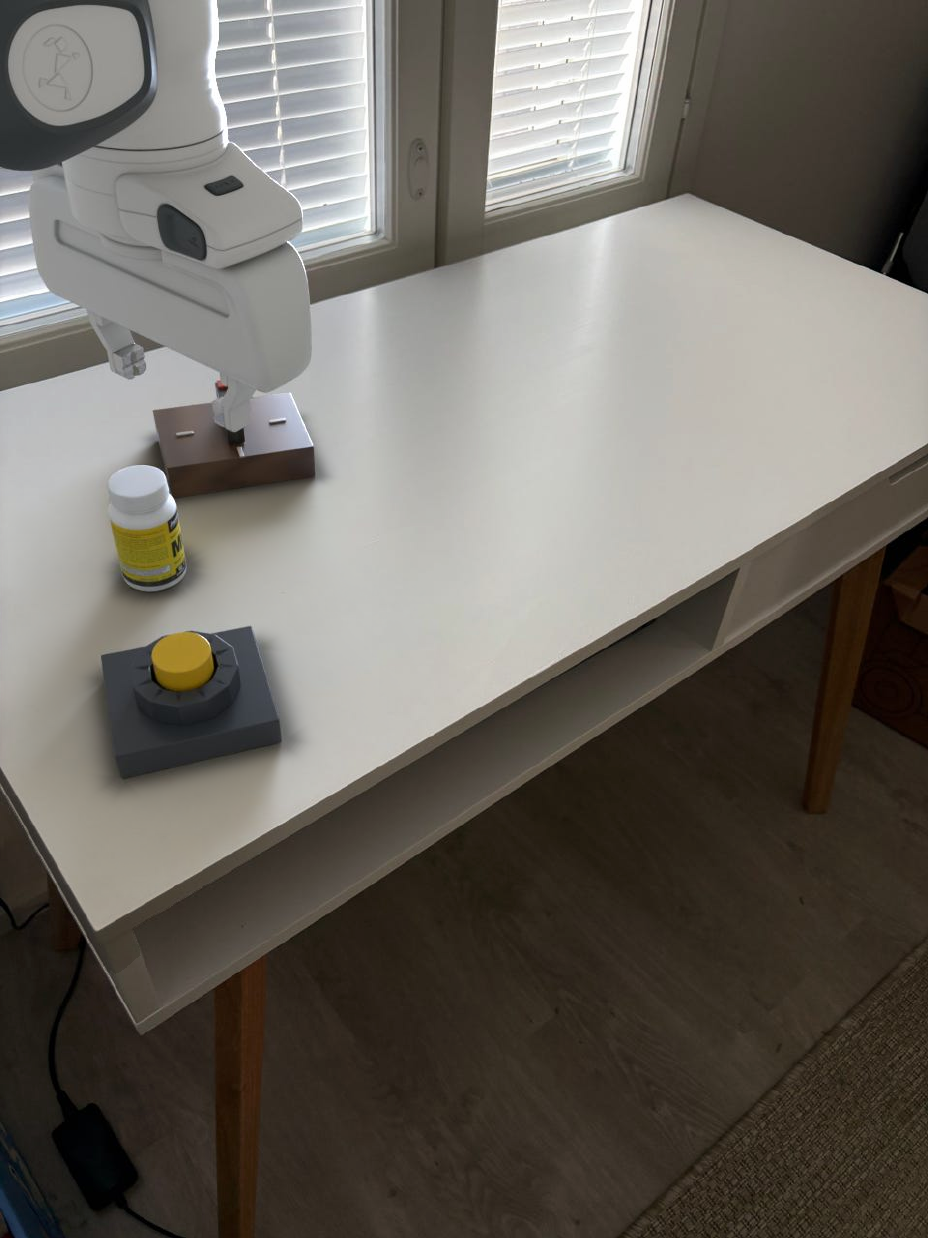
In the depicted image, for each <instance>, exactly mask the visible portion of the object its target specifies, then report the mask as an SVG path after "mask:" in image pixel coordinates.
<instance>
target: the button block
mask: <svg viewBox="0 0 928 1238" xmlns="http://www.w3.org/2000/svg"><path fill="white" fill-rule="evenodd" d="M185 632H190V633H195V634H198V635H201V636H202V637H204V638H205V639H206V640H207V641H208V642H209V644H210V647H211V653H212V659H213V665H214V671H213V674H212V676H211V678H210V679H209V680H208V681H207V682H206V683H205V684H204V685H202V686H201V687H199V688H197V689H192V690H188V691H183V692H177V691H171V690H168V689H166V688H164V687H163V686H161V685H160V684H159V682H158V681H157V679H156V676H155V671H154V667H153V662H152V657H151V655H152V650H153V648H154V647H155V645H156V644H157V643H158V642H159V641H160V640H161V639H163V638H165V637H166V636H169V635H171V634H172V633H170V634H164V635H161V636H160V637H159V638H157V639H155V640H154V641H152V642H150V643H148V644H147V645H145V646H144V645H143V646H139V647H134V648H129V649H123V650H119V651H115V652H109V653H104V654H100V662H101V669H102V676H103V683H104V690H105V697H106V704H107V712H108V719H109V726H110V733H111V734H110V735H111V740H112V747H113V754H114V759H115V764H116V766H117V770H118V774H119V776H120V779H126V778H130V777H131V778H132V777H135V776H140V775H144V774H148V773H153V772H157V771H161V770H166V769H170V768H174V767H179V766H184V765H187V764H192V763H197V762H201V761H205V760H210V759H214V758H218V757H222V756H223V757H224V756H226V755H227V756H228V755H231V754H235V753H239V752H244V751H245V752H246V751H249V750H252V749H258V748H262V747H266V746H270V745H275V744H279V743H282V741H283V739H282V728H281V719H280V716H279V712H278V709H277V706H276V702H275V700H274V695H273V692H272V689H271V686H270V682H269V679H268V675H267V672H266V668H265V665H264V662H263V658H262V655H261V652H260V649H259V645H258V641H257V638H256V635H255V632H254V629H253V626H252V625H248V626H243V627H242V626H241V627H237V628H232V629H227V630H223V631H216V632H212V633H208V632H202V631H196V630H186V631H185Z"/></svg>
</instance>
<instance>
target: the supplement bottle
mask: <svg viewBox="0 0 928 1238" xmlns="http://www.w3.org/2000/svg"><path fill="white" fill-rule="evenodd" d="M165 474H166V473H165V472H163V471H162V470H161V469H160V468H157V467H155V466H153V465H152V466H151V465H144V464H140V465H139V464H137V465H131V466H126V467H123V468H121V469H119V470H117V471H115V472H114V473H113V474H112V475H111V476H110V477H109V479H108V481H107V490H108V495H109V500H110V503H109V504H108V508H107V513H108V518H109V519H108V520H109V523H110V528H111V532H112V536H113V541H114V545H115V549H116V555H117V559H118V563H119V567H120V572H121V576H122V578H123V581H124V582H125V583H126V584H127V585H128V587H130V588H132V589H134V590H137V591H141V592H149V593H151V592H159V591H163V590H167V589H169V588H171V587H174V586H175V585H177V584H178V583H179V582H180V581H181V580H182V579H183V578H184V576H185V575H186V573H187V559H186V553H185V549H184V543H183V537H182V530H181V524H180V519H179V514H178V506H177V503H176V500H175V498H173V497H172V495H171V493H170V487H169V483H168V479H167V475H165Z"/></svg>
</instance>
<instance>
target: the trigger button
mask: <svg viewBox="0 0 928 1238" xmlns="http://www.w3.org/2000/svg"><path fill="white" fill-rule="evenodd" d="M170 634H171V635H170ZM170 634H168V635H169V636H166V637H165V638H163V639H161V640H160V641H159V642H158V643H157V644H156V645H155V647H154V648H153V650H152V655H151V657H152V662H153V667H154V671H155V676H156V679H157V681H158V682H159V684H160V685H161V686H163V687H164V688H166V689H168V690H171V691H177V692H183V691H188V690H192V689H197V688H199V687H201V686H202V685H204V684H205V683H206V682H207V681H208V680H209V679H210V678H211V676H212V674H213V671H214V665H213V659H212V653H211V647H210V644H209V642H208V641H207V640H206V639H205V638H204V637H202V636H201V635H198V634H195V633H190V632H186V631H181V632H176V633H170Z"/></svg>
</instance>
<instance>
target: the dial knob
mask: <svg viewBox="0 0 928 1238" xmlns="http://www.w3.org/2000/svg"><path fill="white" fill-rule="evenodd" d="M214 386H215V395H216V399H217V398H219V397H224V395H225V394H226V392H227V390H228V386H224V385H222V383H221V379H219V380H216V382H215V383H214ZM223 428H224V427H223ZM224 431H225V434H226V437H227V440H228V443H229V444H233V443H241V442H245V433H244V428H242V429H240V430H238V431H237V432H232V431H230V430H228V429H226V428H224Z"/></svg>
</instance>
